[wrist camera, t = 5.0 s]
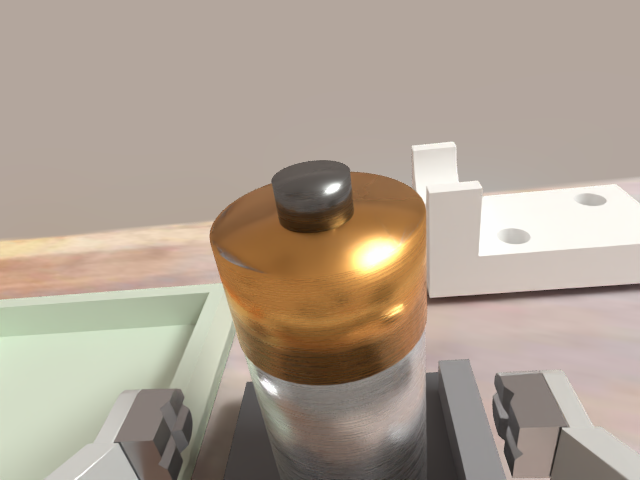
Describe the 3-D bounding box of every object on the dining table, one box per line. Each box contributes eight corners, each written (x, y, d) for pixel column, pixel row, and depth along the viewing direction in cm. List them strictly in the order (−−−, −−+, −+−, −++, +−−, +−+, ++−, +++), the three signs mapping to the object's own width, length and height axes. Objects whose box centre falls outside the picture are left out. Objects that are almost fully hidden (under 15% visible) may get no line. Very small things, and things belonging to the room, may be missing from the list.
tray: (-320, 671, 15) (-403, 634, 14) (-6, 338, 29) (-30, 301, 28) (129, 681, 14) (91, 639, 12) (238, 323, 27) (226, 282, 26)
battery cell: (277, 563, 14) (165, 242, 8) (293, 425, 19) (226, 148, 13) (440, 562, 14) (446, 218, 8) (417, 420, 18) (410, 128, 12)
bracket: (429, 310, 27) (429, 193, 23) (413, 246, 33) (411, 146, 29) (668, 294, 25) (709, 167, 21) (605, 231, 31) (629, 123, 28)
